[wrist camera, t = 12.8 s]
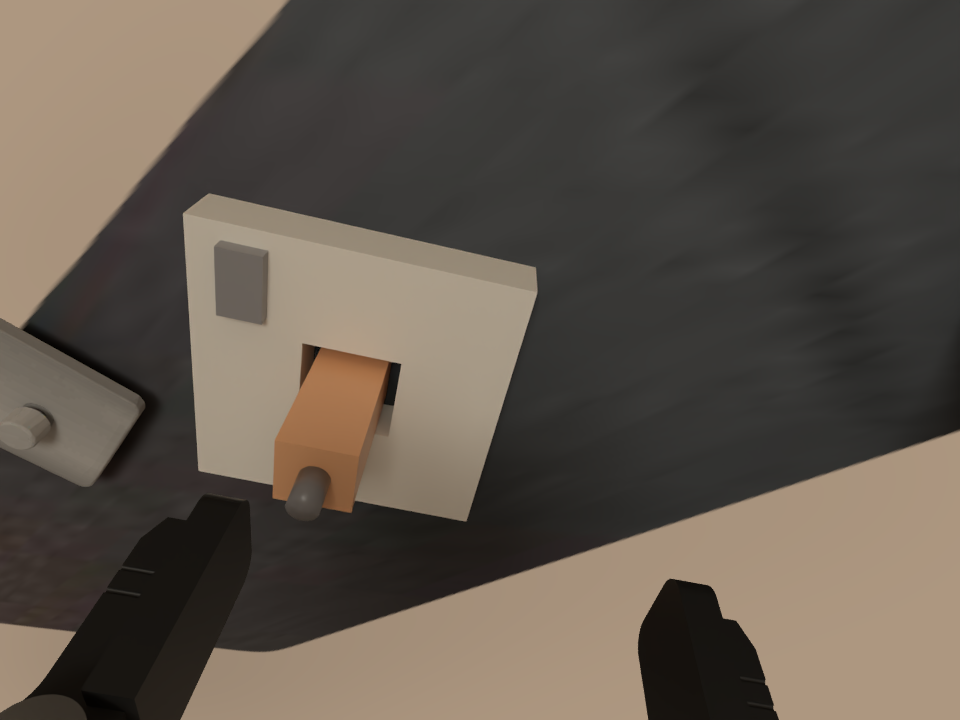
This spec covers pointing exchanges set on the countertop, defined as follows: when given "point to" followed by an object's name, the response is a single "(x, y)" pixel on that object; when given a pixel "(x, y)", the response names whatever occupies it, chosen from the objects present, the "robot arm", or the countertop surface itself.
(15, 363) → the light switch
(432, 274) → the socket
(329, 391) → the plug
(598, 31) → the countertop surface
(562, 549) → the countertop surface
